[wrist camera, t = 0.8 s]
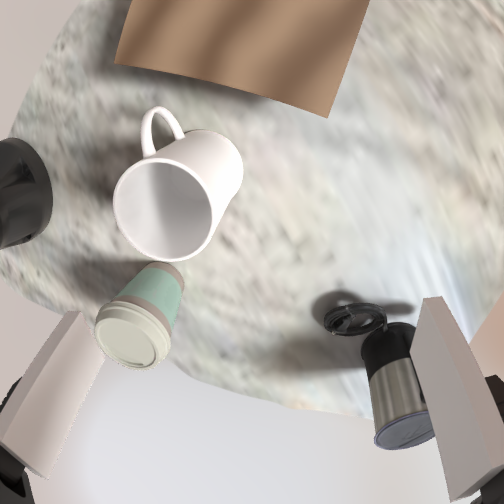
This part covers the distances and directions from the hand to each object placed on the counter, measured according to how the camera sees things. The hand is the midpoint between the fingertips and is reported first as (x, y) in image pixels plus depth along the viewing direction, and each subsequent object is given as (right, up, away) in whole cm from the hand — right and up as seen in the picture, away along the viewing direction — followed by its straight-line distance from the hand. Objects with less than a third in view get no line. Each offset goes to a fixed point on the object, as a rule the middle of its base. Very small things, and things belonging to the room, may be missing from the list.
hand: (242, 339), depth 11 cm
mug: (-5, +13, +21) cm, 25 cm away
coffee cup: (-11, 0, +29) cm, 31 cm away
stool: (+1, +27, +12) cm, 29 cm away
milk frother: (+17, -8, +30) cm, 35 cm away
